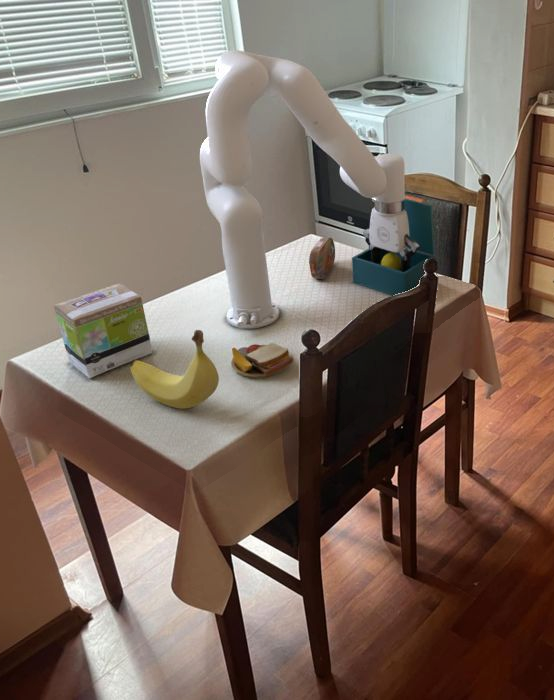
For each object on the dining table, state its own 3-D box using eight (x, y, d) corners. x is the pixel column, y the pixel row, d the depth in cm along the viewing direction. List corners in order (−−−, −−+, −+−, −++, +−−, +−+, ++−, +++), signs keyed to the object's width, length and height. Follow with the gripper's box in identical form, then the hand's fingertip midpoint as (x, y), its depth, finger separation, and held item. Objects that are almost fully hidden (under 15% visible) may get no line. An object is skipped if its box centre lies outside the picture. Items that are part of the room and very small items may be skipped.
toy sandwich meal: (273, 343, 166) (271, 325, 163) (302, 369, 157) (300, 350, 154) (222, 361, 160) (219, 342, 157) (249, 389, 150) (246, 370, 148)
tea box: (90, 380, 153) (72, 320, 145) (69, 363, 159) (51, 304, 151) (154, 353, 162) (141, 294, 155) (132, 337, 168) (118, 280, 160)
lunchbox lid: (430, 206, 180) (442, 197, 184) (376, 192, 189) (389, 184, 192) (433, 255, 189) (444, 245, 192) (381, 240, 197) (393, 231, 201)
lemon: (394, 286, 188) (394, 258, 184) (377, 281, 191) (376, 253, 187) (406, 278, 192) (405, 251, 188) (388, 273, 195) (388, 246, 191)
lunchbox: (405, 299, 184) (404, 274, 180) (353, 282, 192) (351, 257, 188) (433, 281, 193) (434, 256, 189) (383, 265, 201) (382, 241, 198)
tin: (320, 284, 191) (317, 255, 187) (308, 283, 192) (306, 254, 188) (336, 260, 204) (335, 233, 199) (326, 259, 204) (324, 232, 200)
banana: (127, 395, 148) (105, 310, 138) (148, 381, 153) (128, 298, 142) (211, 428, 139) (194, 339, 129) (231, 412, 144) (216, 325, 133)
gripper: (353, 202, 182) (356, 264, 191) (408, 217, 174) (409, 281, 183) (371, 194, 187) (373, 254, 196) (426, 208, 179) (425, 270, 188)
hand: (390, 267), depth 190 cm, fingers open, 9 cm apart
